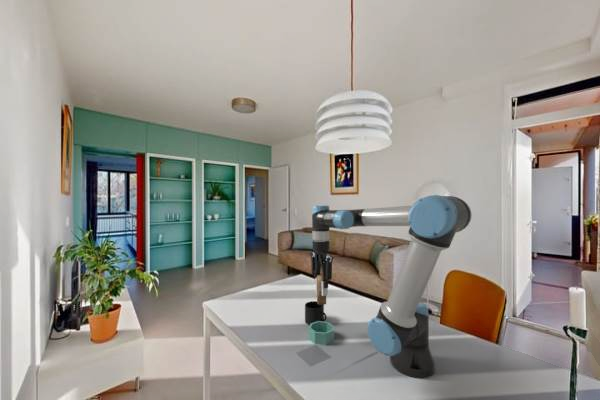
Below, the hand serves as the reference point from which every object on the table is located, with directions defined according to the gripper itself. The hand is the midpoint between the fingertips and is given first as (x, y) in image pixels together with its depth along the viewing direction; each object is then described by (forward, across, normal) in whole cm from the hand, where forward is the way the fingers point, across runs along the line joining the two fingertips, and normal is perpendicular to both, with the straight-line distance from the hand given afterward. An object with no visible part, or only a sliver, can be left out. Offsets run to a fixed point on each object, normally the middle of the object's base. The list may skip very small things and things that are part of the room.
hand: (321, 293), depth 111 cm
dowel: (+4, 0, 0) cm, 4 cm away
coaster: (+20, -8, +10) cm, 24 cm away
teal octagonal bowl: (+20, 0, 0) cm, 20 cm away
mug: (+20, +13, -7) cm, 25 cm away
